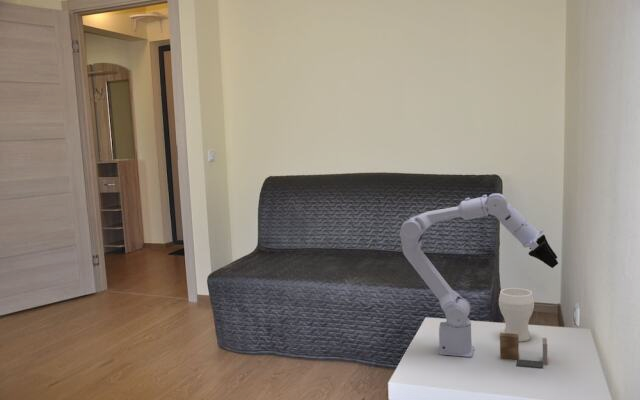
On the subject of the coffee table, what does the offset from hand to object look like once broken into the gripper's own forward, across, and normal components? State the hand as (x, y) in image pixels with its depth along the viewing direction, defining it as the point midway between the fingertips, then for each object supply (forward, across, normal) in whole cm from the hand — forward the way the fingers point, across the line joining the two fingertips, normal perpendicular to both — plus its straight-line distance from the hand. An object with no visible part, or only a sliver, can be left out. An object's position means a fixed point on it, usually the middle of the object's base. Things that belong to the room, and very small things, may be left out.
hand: (554, 262), depth 153 cm
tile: (+19, -1, +22) cm, 29 cm away
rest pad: (+16, -4, +24) cm, 30 cm away
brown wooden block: (+13, -1, +29) cm, 31 cm away
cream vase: (+14, +17, +28) cm, 35 cm away
